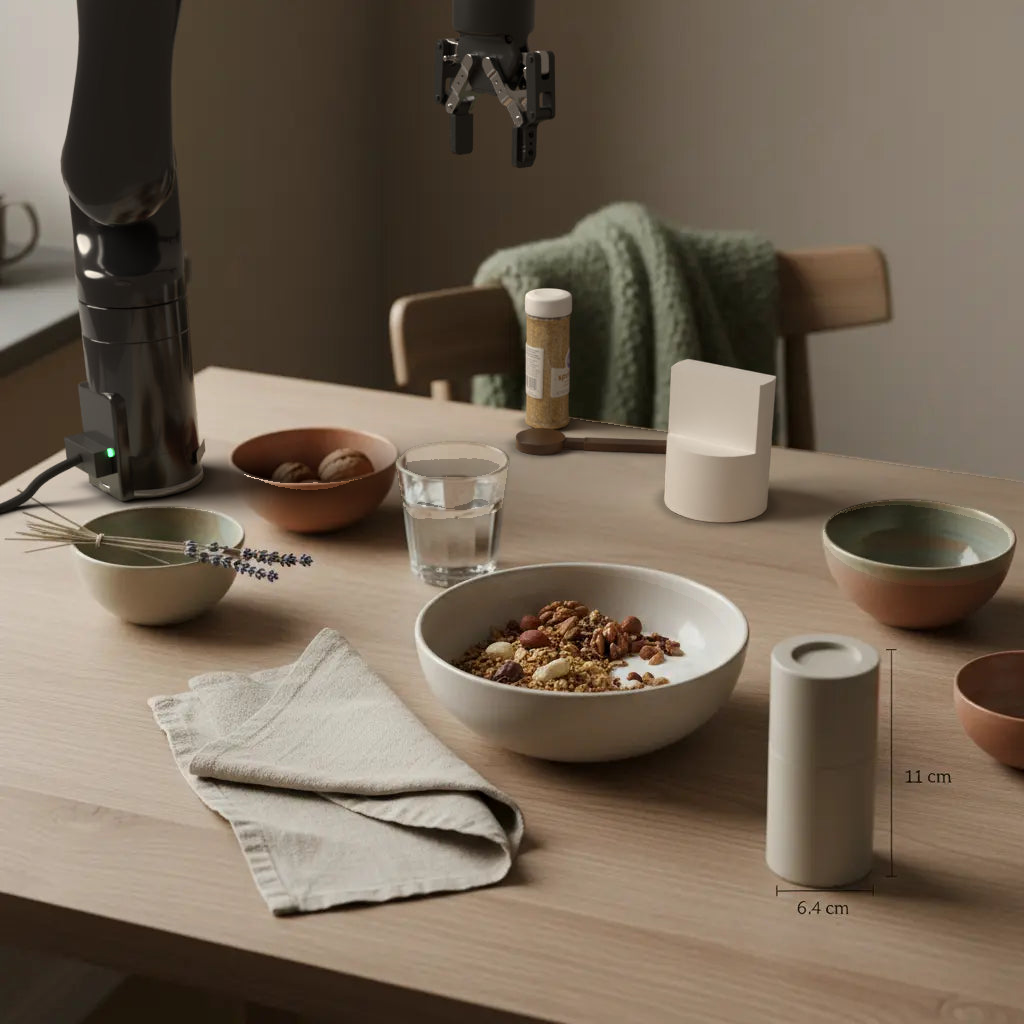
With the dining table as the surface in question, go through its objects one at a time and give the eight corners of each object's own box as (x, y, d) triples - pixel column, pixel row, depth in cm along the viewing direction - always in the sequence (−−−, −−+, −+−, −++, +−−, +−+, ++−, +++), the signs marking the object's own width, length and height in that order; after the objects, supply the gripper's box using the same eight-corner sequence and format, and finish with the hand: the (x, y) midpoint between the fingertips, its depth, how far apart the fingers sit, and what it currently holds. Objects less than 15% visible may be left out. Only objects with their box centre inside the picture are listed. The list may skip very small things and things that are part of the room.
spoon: (698, 442, 147) (698, 433, 146) (699, 460, 142) (700, 450, 142) (517, 436, 148) (517, 427, 148) (513, 454, 144) (513, 444, 143)
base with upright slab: (645, 506, 132) (650, 375, 127) (695, 475, 139) (701, 350, 134) (737, 530, 127) (746, 395, 122) (784, 497, 134) (794, 368, 129)
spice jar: (573, 430, 150) (575, 298, 144) (527, 432, 149) (528, 299, 144) (565, 415, 154) (567, 285, 149) (521, 416, 153) (521, 287, 148)
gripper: (411, -27, 138) (412, 154, 144) (517, -17, 128) (513, 176, 134) (473, -29, 142) (471, 146, 149) (580, -19, 133) (573, 167, 139)
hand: (491, 160), depth 142 cm, fingers open, 8 cm apart
